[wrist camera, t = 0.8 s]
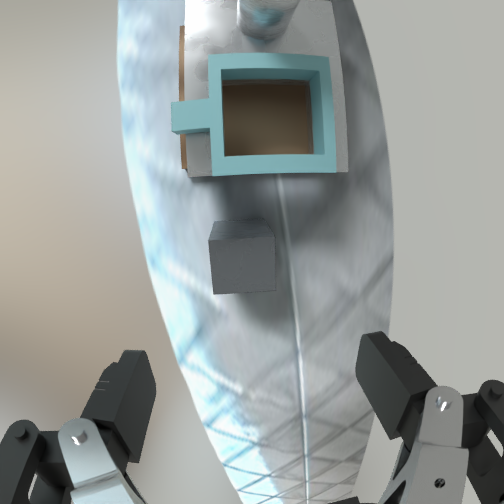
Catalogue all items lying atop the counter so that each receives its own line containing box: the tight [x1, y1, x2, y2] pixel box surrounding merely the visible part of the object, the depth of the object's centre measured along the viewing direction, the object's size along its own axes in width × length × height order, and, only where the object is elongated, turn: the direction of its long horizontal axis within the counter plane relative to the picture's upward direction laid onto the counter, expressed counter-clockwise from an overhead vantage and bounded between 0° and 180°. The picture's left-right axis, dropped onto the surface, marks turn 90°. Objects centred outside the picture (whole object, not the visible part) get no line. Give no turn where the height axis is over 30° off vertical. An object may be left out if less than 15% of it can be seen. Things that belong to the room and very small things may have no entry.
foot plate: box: [179, 26, 309, 169], centre depth 22 cm, size 14×14×2 cm
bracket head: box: [171, 53, 336, 176], centre depth 17 cm, size 8×11×2 cm
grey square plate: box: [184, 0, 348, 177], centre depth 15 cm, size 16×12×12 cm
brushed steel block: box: [208, 219, 276, 294], centre depth 23 cm, size 4×4×7 cm
